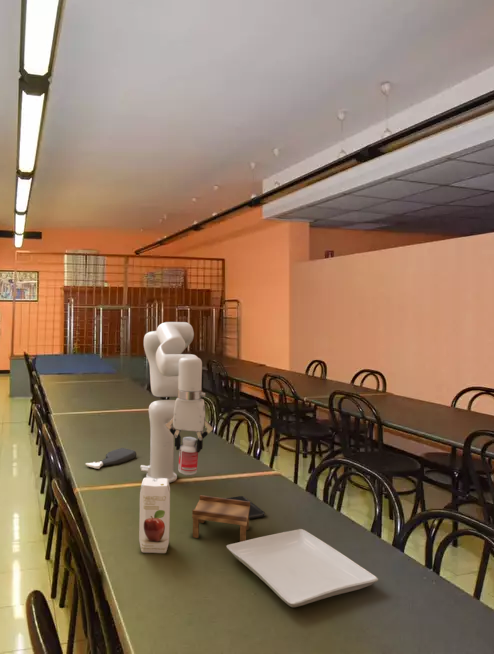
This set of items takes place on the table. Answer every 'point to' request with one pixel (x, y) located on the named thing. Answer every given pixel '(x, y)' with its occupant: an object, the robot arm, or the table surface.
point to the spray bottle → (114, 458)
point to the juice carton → (154, 515)
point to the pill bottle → (188, 456)
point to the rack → (221, 513)
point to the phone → (251, 508)
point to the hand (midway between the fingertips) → (188, 449)
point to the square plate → (301, 567)
